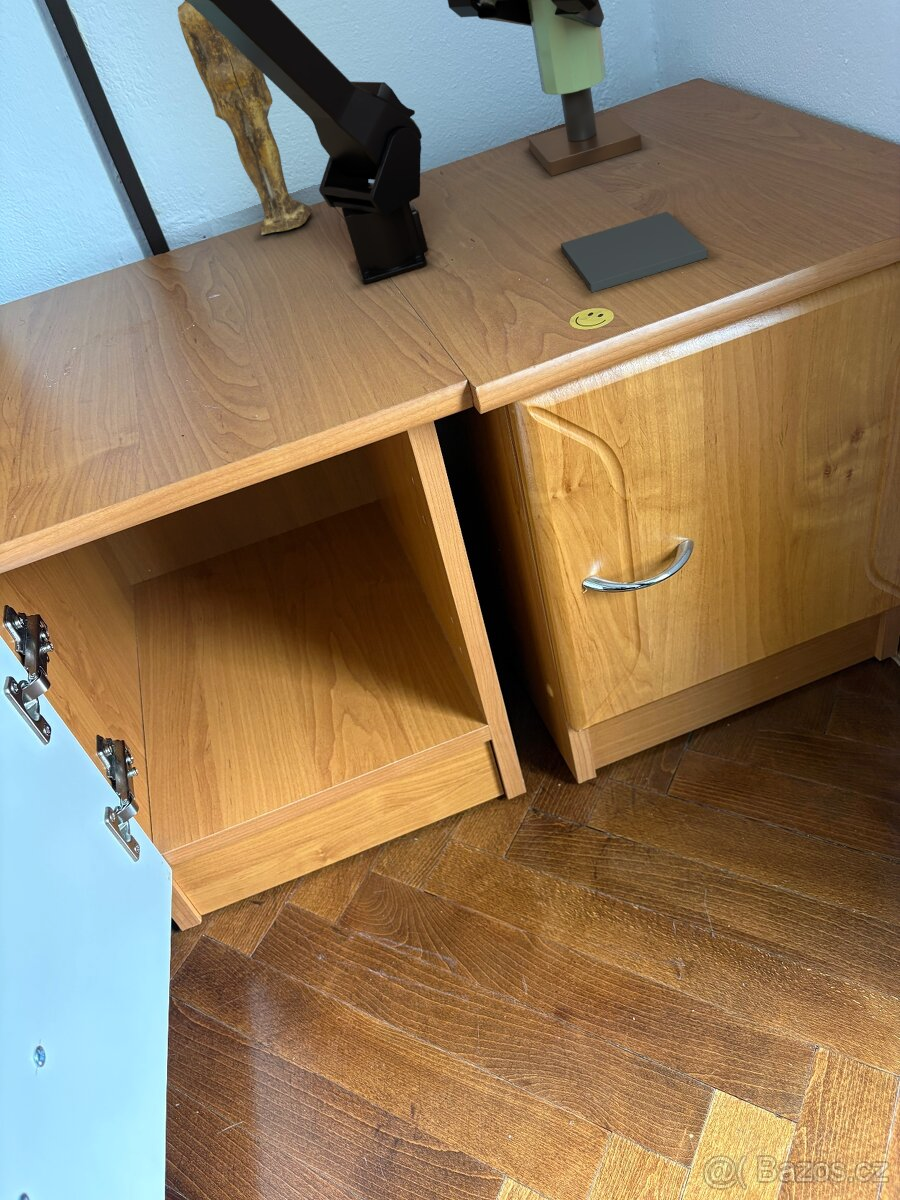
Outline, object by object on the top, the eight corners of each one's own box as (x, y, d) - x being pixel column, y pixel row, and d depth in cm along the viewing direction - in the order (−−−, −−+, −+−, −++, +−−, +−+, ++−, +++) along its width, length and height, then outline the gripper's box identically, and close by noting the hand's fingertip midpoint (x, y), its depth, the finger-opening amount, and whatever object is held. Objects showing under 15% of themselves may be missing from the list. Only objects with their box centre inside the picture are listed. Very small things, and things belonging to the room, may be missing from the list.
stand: (551, 176, 107) (540, 112, 103) (530, 151, 115) (519, 91, 111) (642, 148, 107) (635, 83, 103) (614, 125, 115) (607, 64, 111)
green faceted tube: (551, 99, 104) (532, -22, 97) (536, 85, 109) (517, -30, 102) (613, 80, 104) (598, -42, 97) (595, 68, 109) (580, -49, 102)
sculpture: (320, 211, 116) (222, -94, 97) (309, 233, 112) (204, -84, 93) (265, 223, 118) (159, -76, 99) (252, 245, 113) (138, -65, 94)
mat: (591, 292, 84) (590, 283, 83) (561, 251, 92) (560, 243, 91) (707, 257, 84) (707, 248, 83) (668, 219, 91) (667, 211, 91)
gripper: (587, -179, 85) (678, -66, 96) (439, -148, 97) (536, -51, 109) (540, -43, 87) (636, 52, 98) (401, -29, 99) (501, 54, 110)
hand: (575, 23), depth 104 cm, fingers closed on green faceted tube, 7 cm apart
